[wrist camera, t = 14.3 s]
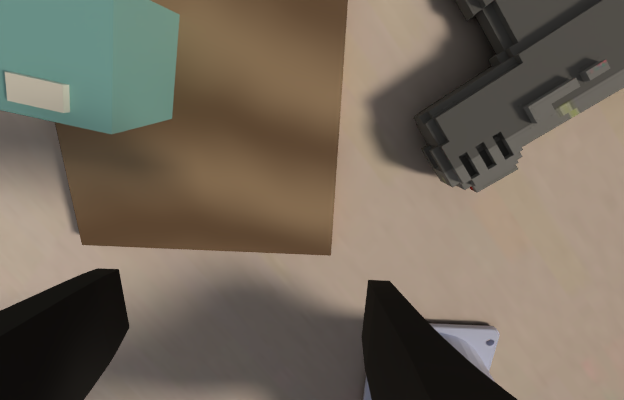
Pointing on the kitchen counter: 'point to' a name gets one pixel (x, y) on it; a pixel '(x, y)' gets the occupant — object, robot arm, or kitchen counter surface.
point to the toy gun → (523, 84)
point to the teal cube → (88, 62)
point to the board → (225, 137)
